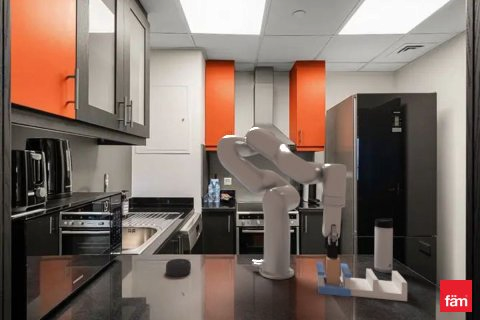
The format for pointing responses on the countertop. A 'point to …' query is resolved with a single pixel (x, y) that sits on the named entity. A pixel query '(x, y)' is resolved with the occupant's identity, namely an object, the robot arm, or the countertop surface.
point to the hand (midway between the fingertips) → (330, 253)
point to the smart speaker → (178, 267)
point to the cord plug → (332, 271)
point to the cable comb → (363, 285)
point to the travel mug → (383, 245)
